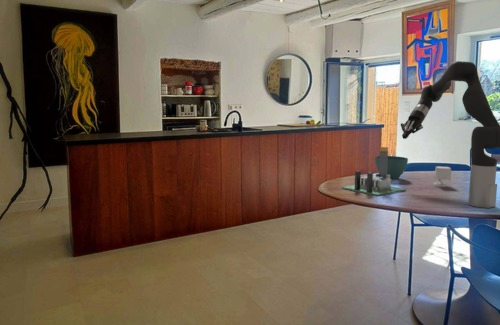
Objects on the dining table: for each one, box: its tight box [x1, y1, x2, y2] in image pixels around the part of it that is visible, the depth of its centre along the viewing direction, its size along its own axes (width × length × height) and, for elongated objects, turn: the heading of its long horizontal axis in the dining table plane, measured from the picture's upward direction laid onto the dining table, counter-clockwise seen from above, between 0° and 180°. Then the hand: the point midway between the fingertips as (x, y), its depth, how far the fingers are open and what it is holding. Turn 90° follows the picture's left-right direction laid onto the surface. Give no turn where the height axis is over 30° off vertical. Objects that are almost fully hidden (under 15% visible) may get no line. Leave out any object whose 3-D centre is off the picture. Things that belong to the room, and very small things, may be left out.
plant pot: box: [374, 155, 409, 180], centre depth 231 cm, size 18×18×12 cm
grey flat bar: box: [378, 146, 389, 178], centre depth 201 cm, size 5×1×16 cm, turn 35°
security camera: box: [432, 166, 452, 188], centre depth 208 cm, size 6×7×10 cm
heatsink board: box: [341, 170, 407, 197], centre depth 198 cm, size 22×22×10 cm
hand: (404, 137), depth 208 cm, fingers closed
